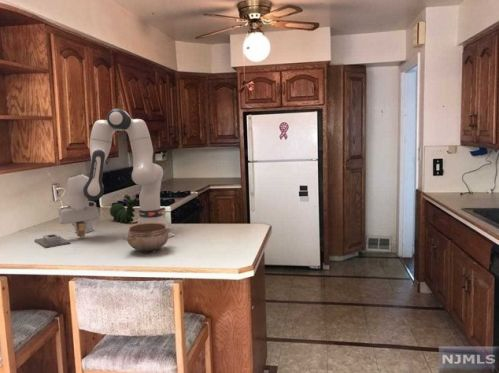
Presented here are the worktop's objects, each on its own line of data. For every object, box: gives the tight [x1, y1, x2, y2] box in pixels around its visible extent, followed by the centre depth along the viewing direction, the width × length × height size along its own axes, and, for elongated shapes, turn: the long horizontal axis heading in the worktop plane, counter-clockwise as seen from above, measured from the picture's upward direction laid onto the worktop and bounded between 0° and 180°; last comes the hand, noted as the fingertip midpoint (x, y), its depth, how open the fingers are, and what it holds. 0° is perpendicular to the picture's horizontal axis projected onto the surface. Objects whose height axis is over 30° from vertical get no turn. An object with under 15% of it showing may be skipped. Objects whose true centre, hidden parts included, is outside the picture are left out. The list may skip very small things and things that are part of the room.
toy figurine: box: [109, 194, 136, 224], centre depth 276 cm, size 10×19×26 cm
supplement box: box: [74, 219, 94, 234], centre depth 249 cm, size 7×7×13 cm
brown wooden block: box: [76, 221, 86, 238], centre depth 231 cm, size 5×2×8 cm, turn 41°
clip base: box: [34, 233, 71, 249], centre depth 225 cm, size 20×12×4 cm, turn 41°
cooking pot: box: [122, 222, 172, 254], centre depth 202 cm, size 25×19×12 cm
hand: (80, 229), depth 231 cm, fingers closed on brown wooden block, 2 cm apart
